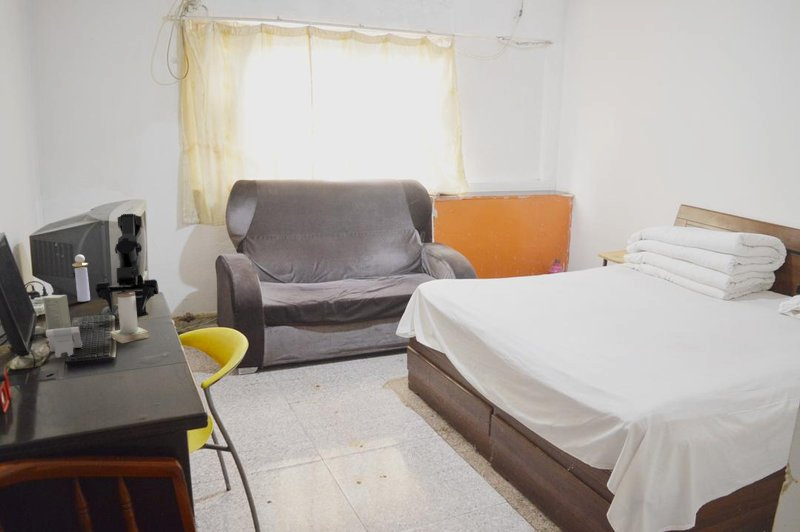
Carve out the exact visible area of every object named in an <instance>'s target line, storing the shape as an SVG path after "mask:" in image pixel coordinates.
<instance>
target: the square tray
mask: <svg viewBox="0 0 800 532" xmlns="http://www.w3.org/2000/svg"><path fill="white" fill-rule="evenodd" d="M109 334H111V335H112V336H113V337H114V338H115V340H114V341H116V342H119V343H120V344H125V343H129V342H134V341H138V340H143V339H147V338H148V339H149V338H150V331H148V330H146V329H145V328H142V327H139V326H138V331H137V332H134V333H121V332H120V329H118V330H114V331H113V330H112V331H110V332H109Z"/></svg>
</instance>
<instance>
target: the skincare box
mask: <svg viewBox="0 0 800 532" xmlns="http://www.w3.org/2000/svg"><path fill="white" fill-rule="evenodd" d="M42 300H43V307H44V308H43V309H44V314H45V315H44V316H45V322H46V327H47V329H46V330H50V329H60V328H70V327H72V322H71V316H70V309H69V303H68V295H67V294H50V295H47V296H43V297H42Z"/></svg>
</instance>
